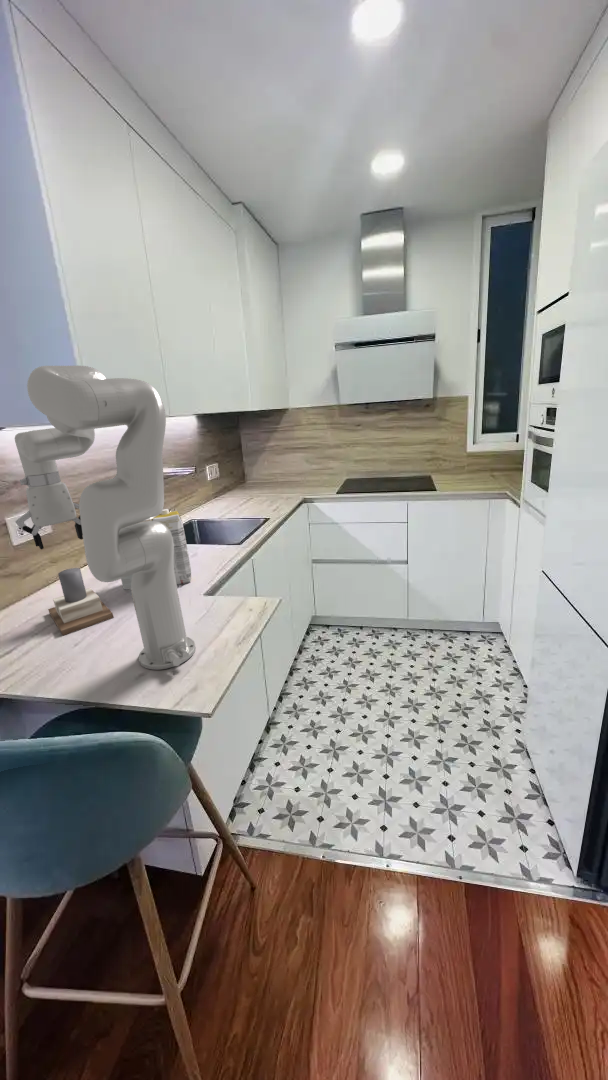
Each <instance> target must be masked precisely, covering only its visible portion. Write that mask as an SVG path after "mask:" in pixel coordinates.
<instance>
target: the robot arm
mask: <svg viewBox="0 0 608 1080" xmlns="http://www.w3.org/2000/svg"><path fill="white" fill-rule="evenodd" d="M26 388H27V394H28V397H29V399H30V400H29V401H31V404H32V405H33V406H34V407H35V408H36V409H37V411H39V412H40V413H41V414H43V415H45V416H46V417H47V420H48V421H49V423H50V425H52V426H53V427H54V428H53V427H52V428H51V427H50V428H44V429H43V428H42V429H36V430H34V429H33V430H29V431H23V432H18V433H17V434H15V436H14V441H15V446H16V449H17V450H16V451H17V453H18V455H19V460H20V463H21V466H22V469H23V473H24V478H22V479H19V482H20V485H21V486H23V485H25V486H27V488H26V489H25V494H26V495H25V496H26V502H27V503H26V504H27V506H28V507H27V508H28V510H27V512H25V513H24V514H22V515H20V517H18V518H16V520H15V521H14V522H15V524H16V525H18V527H19V528H20V529H22V531H24V532H26V533H29V534H30V535H32V537H33V541H34V546H36V547H38V548H39V549H40V550H43V549H45V548H44V544H43V541H42V537H41V534H40V533H39V531H40V530H41V528H42V527H48V526H53V525H57V524H62V523H67V522H71V521H73V522H74V529H75V532H76V536H77V538H78V539H79V540H83V547H84V553H85V560H86V563H87V567H88V569H89V571H90V574H92V576H93V577H94V578H95V579H96V580H98V581H99V582H103V583H112V582H116V581H119V580H121V579H122V578H125V577H127V576H129V575H132V574H133V578H132V582H131V589H130V591H131V597H132V603H133V606H134V612H135V615H136V618H137V619H136V620H137V624H138V628H139V629H138V630H139V632H140V636H141V642H142V644H143V648H142V650H141V651H140V652H139V655H138V662H139V664H140V666H142V668H145V669H149V670H165V669H169V668H170V669H171V668H173V667H178V666H180V665H181V664H183V663H184V662H186V661H188V660H189V659H190V658H191V657H192V656H193V655H194V654H195V652H196V643H195V641H194V640H193V638H191V637H188V636H187V633H186V628H185V627H186V626H185V621H184V617H183V612H182V607H181V606H182V605H181V601H180V597H179V596H180V595H179V589H178V585H177V584H176V578H175V572H174V543H173V537H172V534H171V532H170V530H169V529H168V528H167V527H166V526H165V525H164V524H162V523H160V522H157V521H152V518H154V517H156V516H158V515H159V514H161V512H162V510H164V506H165V483H164V461H163V460H164V459H163V452H164V451H163V450H164V448H163V447H164V440H165V435H166V425H167V418H166V417H167V416H166V415H167V414H166V410H165V409H166V408H165V405H164V402H163V399H162V397H161V395H160V394H159V392H158V391H157V389H156V388H155V387H154V386H153V385H152V384H150V383H149V382H146V381H144V380H141V379H136V378H126V377H124V378H107V377H106V375H105V374H104V373H102V372H101V371H100V370H98V369H96V368H94V367H91V366H88V365H41V366H38V367H36V368H34V369H33V370H32V371H31V373H30V374H29V376H28V379H27V384H26ZM118 426H121V427H122V426H127V427H126V428H127V429H126V430H125V432H123V435H122V436H121V438H120V440H119V442H118V444H117V447H116V451H115V463H116V474H115V477H113V478H110V479H104V480H101V481H97V482H92V484H89V485H87V486H86V487H84V489H83V490H82V492H81V494H80V497H79V502H78V503H75V502H73V499H72V496H71V493H70V491H69V488H68V486H67V484H66V482H63V481H61V476H60V473H59V469H58V466H57V465H58V464H57V461H58V460H64V459H71V458H77V457H80V456H83V455H84V454H85V453H87V451H88V450H89V449H90V448H91V447H92V445H93V444H94V441H95V436H96V433H95V429H102V428H103V429H105V428H112V427H118ZM76 509H78V510H79V516H78V517H77V511H76ZM29 519H31V521H32V524H33V525H32V527H30V526H27V525H26V523H25V522H26V521H27V520H29Z"/></svg>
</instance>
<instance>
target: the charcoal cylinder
mask: <svg viewBox="0 0 608 1080" xmlns="http://www.w3.org/2000/svg"><path fill="white" fill-rule="evenodd" d="M57 576H58V579H59V583H60V586H61V590H62V594H63V596H64V598H65V601H66V602H69V603H71V602H77V601H80V600H83V599H84V598H86V597H87V594H86V590H85V589H86V587H85V583H84V579H83V574H82V570H81V568H78V567H72V568H66V569H64V570H61V571H59V572H58V574H57Z"/></svg>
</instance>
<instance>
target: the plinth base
mask: <svg viewBox="0 0 608 1080" xmlns="http://www.w3.org/2000/svg"><path fill="white" fill-rule="evenodd" d="M85 590H86V594H87V597H86V598H84V599H83V600H80V601H77V602H71V603H69V602H66V601H65V598H64V595H61V596H59V597H55V598H53V599H52V601H53V603H54V606H53V607H50V608H48V609H47V610H48V613H49V615H50V617H51V618H52V621H53V622H54V623H55V625H56V626H57V629H58V630H59V632H60V634H61V636H65V635H68V634H72V633H75V632H77V631H81V630H82V629H86V628H88V627H91V626H95V625H97V624H99V623H103V622H105V621H109V620H111V619H114V614H113V612H112V611H111V610H110V608H108V606H106V604H105V603H104V602H103V601H102V600H101V598H100V596H99V595H98V594H97V593H96V592H95V591H94V589H92V588H91V587H87V588H85Z"/></svg>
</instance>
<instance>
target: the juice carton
mask: <svg viewBox="0 0 608 1080" xmlns="http://www.w3.org/2000/svg"><path fill="white" fill-rule="evenodd" d="M151 521H157V522H160V523H162V524H164V525H165V526H166V527H167V528H168V529H169V530H170V532H171V534H172V537H173V543H174V572H175V578H176V584H177V586H178V585H182V584H188V583H191V581H192V579H191V578H192V567H191V561H190V557H189V556H190V555H189V551H188V545H187V540H186V539H187V538H186V534H185V528H184V524H183V520H182V517H181V515H180V513H179V511H178V510H173V511H169V508H166V509H164V508H163V510H162V512H161V513H160V514H159V515H158V516H156V517H154V518H152V519H151Z"/></svg>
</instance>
